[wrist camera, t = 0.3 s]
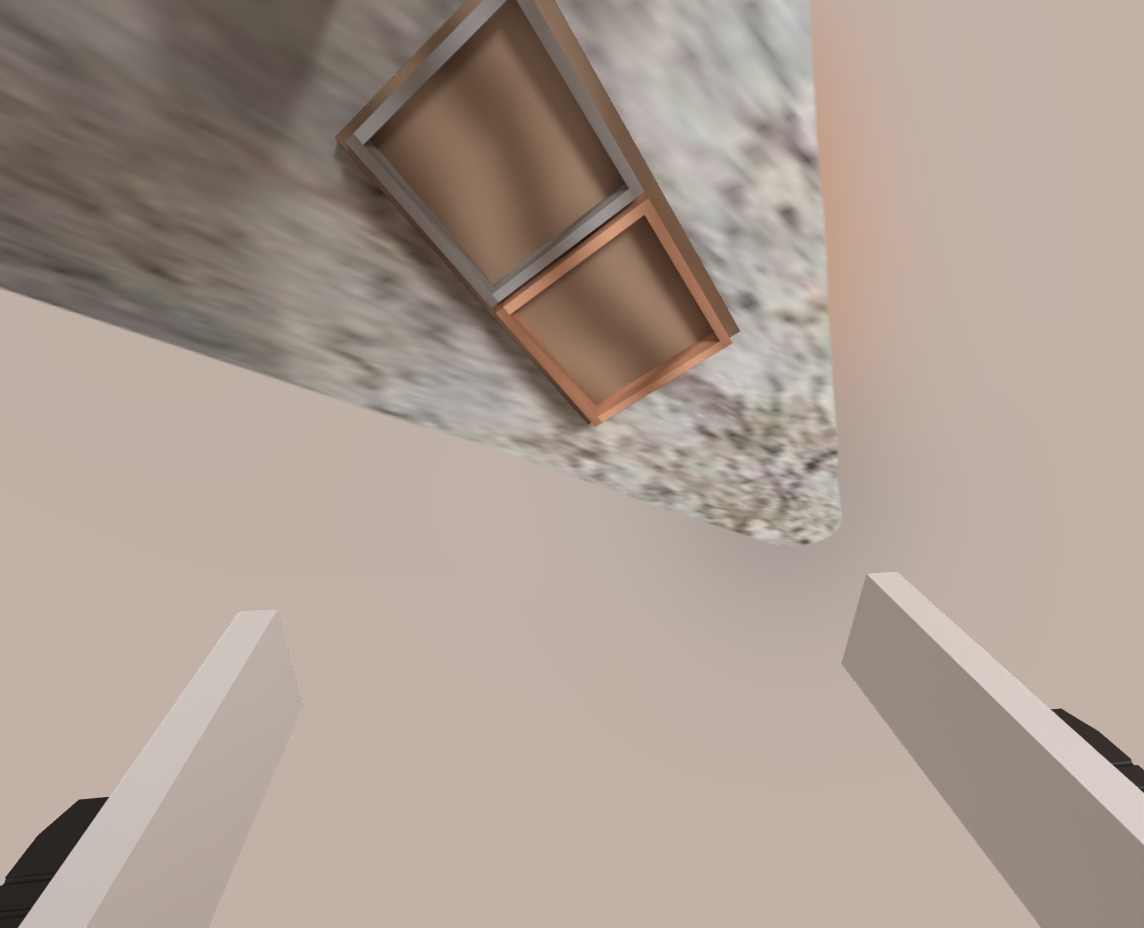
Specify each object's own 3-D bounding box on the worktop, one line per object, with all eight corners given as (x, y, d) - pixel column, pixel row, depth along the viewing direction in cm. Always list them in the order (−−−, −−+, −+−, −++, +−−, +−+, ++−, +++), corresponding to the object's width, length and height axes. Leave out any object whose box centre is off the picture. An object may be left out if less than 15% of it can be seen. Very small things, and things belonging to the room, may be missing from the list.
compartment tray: (522, -55, 24) (521, -61, 22) (734, 323, 37) (746, 341, 35) (340, 134, 28) (325, 143, 26) (587, 415, 41) (590, 436, 39)
